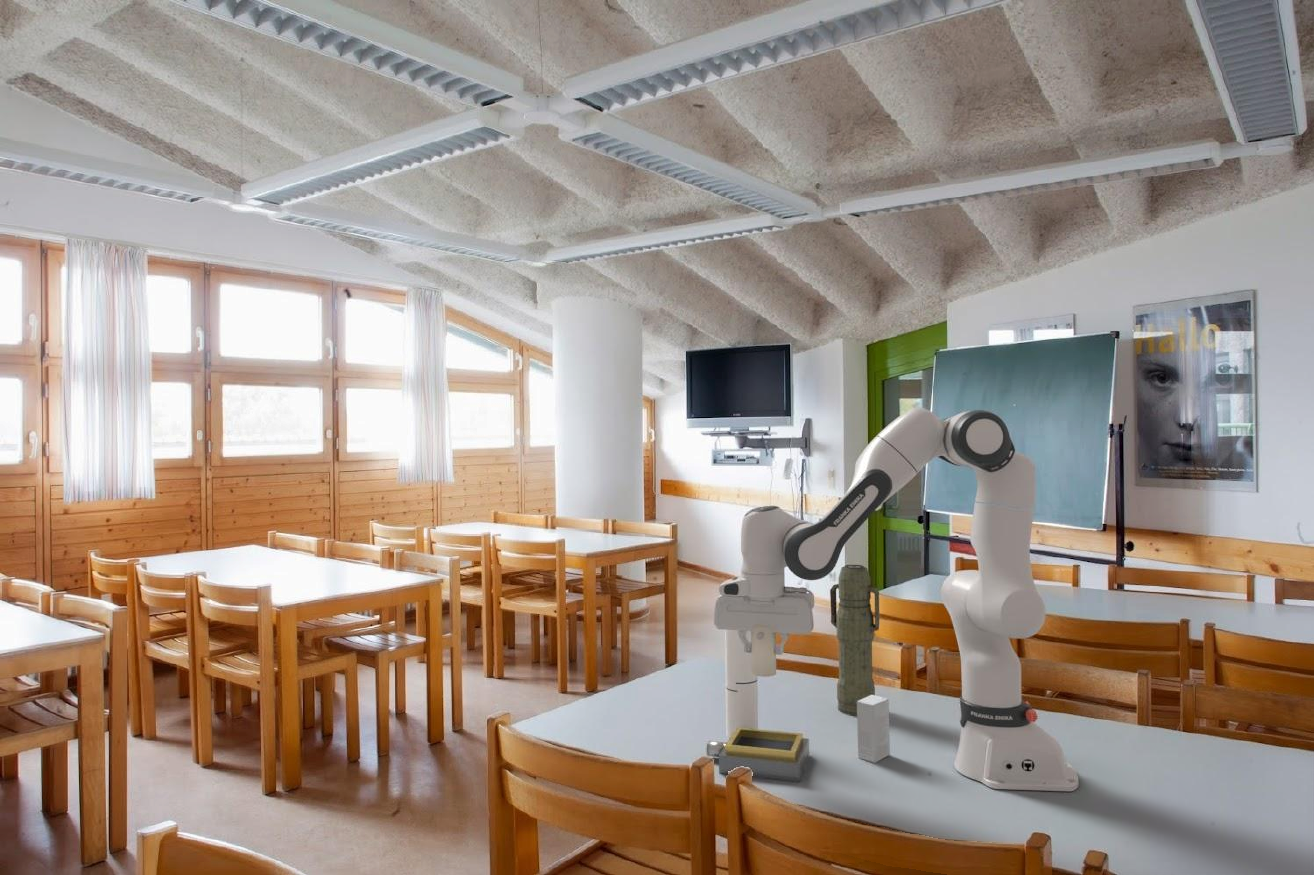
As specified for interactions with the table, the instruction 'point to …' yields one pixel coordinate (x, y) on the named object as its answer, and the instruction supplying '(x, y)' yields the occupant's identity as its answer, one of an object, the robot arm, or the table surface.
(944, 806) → the table surface
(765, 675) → the spout can
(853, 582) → the thermos
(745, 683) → the cylindrical container
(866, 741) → the skincare box
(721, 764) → the box
